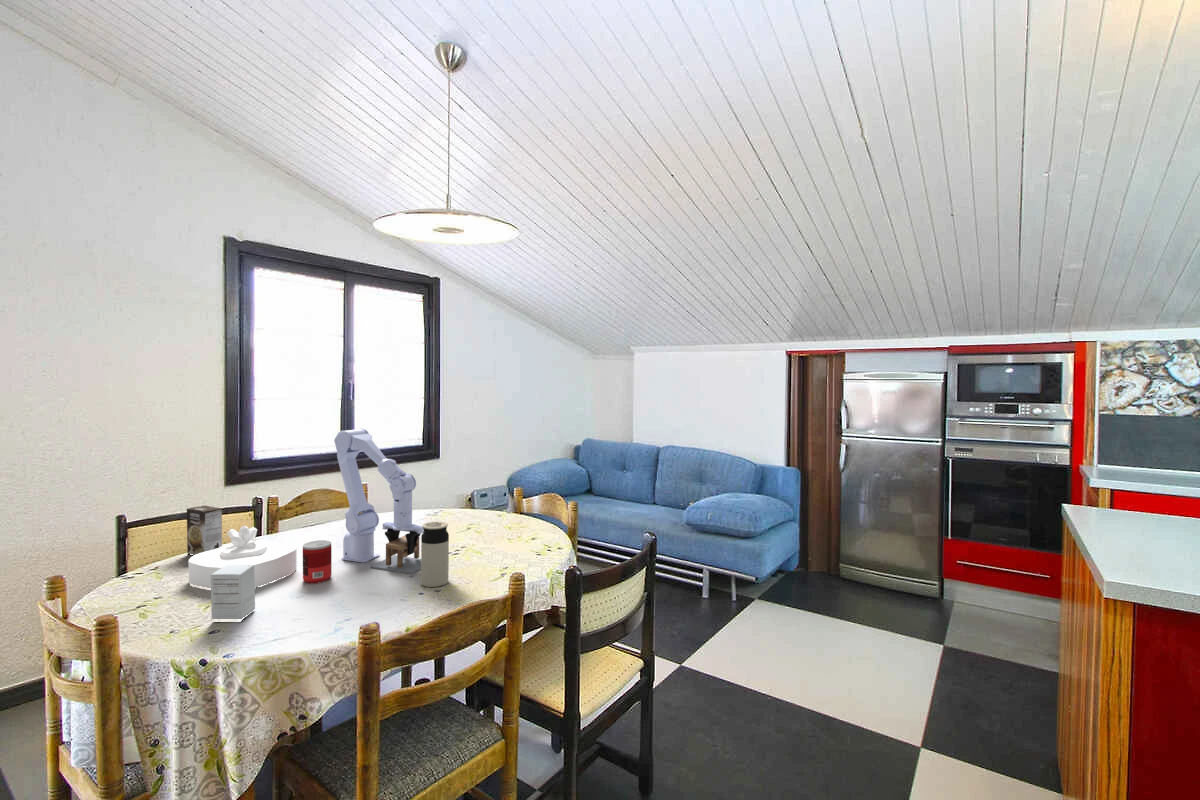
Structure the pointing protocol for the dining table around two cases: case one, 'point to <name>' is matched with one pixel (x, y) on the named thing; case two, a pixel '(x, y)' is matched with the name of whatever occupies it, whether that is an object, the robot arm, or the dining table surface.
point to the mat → (408, 567)
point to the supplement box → (232, 592)
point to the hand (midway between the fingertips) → (402, 552)
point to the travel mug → (434, 554)
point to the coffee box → (203, 529)
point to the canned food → (317, 561)
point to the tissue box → (245, 558)
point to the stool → (400, 550)
